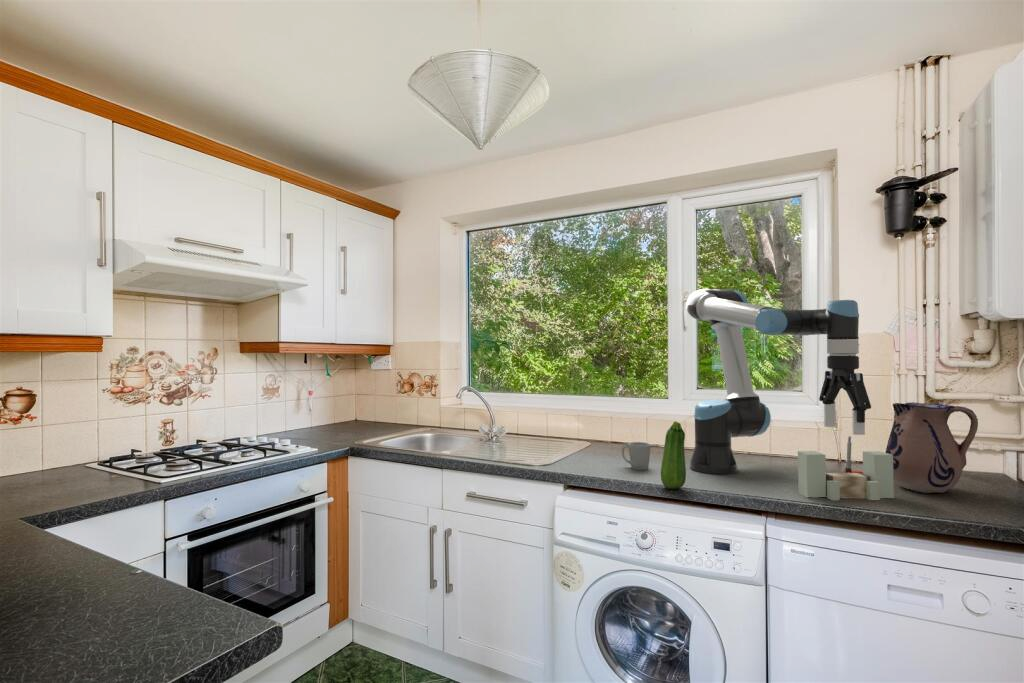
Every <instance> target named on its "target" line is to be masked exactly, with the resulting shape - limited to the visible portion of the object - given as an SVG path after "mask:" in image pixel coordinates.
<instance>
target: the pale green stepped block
mask: <svg viewBox="0 0 1024 683" xmlns="http://www.w3.org/2000/svg"><path fill="white" fill-rule="evenodd" d="M826 463H827V462H826V454H825V453H822V452H820V451H816V450H797V480H798V481H797V483H798V484H797V487H798V488H797V491H798V492H799V493H800V495H801V494H802V495H801V496H803V495H804V496H803V497H805V496H806V497H805V498H807V497H826V499H827V498H828V499H827V500H829V499H832V500H831V501H840V500H841V498H840V486H839V482H838V481H827V496H826V473H827V471H826V470H827V469H826V467H827V466H826ZM798 492H797V493H798ZM799 493H798V494H799ZM834 499H835V500H834Z"/></svg>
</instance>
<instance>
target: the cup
mask: <svg viewBox="0 0 1024 683" xmlns="http://www.w3.org/2000/svg"><path fill="white" fill-rule="evenodd" d="M651 446H652V444H651V443H649V442H645V441H644V442H643V441H632V442H629V443H628V444H626V445H624V446H623V447H622V450H621V454H622V459H624V461H625V462H626V463H628V464H629V465H630V466H631V469H632V468H633V470H635V469H637V470H636V471H646V469H647V470H648V469H649V465H650V457H651ZM625 448H627V449H628V452H629V453H628V454H629V459H628V458H626V456H625V453H624V452H625Z"/></svg>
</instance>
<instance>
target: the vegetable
mask: <svg viewBox="0 0 1024 683" xmlns="http://www.w3.org/2000/svg"><path fill="white" fill-rule="evenodd" d="M685 439H686V433H685V431H684V429H683V427H682V424H681V423H680V422H678V421H675V420H674V422H672V425H671V426H670V427H669V428H668V429H667V430H666V433H665V440H664V446H663V447H664V448H663V453H662V460H661V467H660V480H661V483H662V486H664V487H665V488H666V489H669V490H674V489H675V490H676V489H680V488H682V487H683V486H684V485H685V483H686V478H687V470H686V469H687V468H686V456H685Z"/></svg>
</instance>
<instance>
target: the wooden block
mask: <svg viewBox="0 0 1024 683" xmlns="http://www.w3.org/2000/svg"><path fill="white" fill-rule="evenodd" d="M827 481H838V482H839V486H840V497H853V498H852V499H867V492H866V481H870V476H867V475H865V474H862V473H844V472H826V497H827Z"/></svg>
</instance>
